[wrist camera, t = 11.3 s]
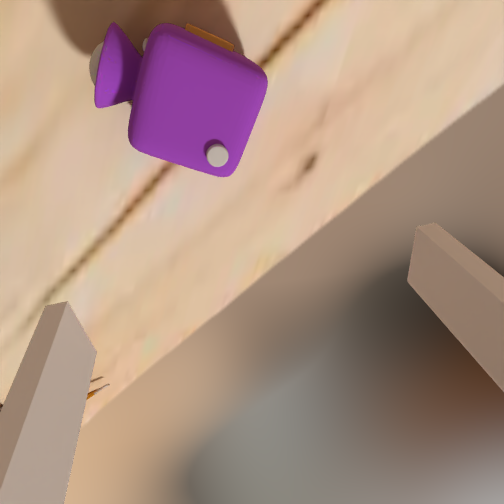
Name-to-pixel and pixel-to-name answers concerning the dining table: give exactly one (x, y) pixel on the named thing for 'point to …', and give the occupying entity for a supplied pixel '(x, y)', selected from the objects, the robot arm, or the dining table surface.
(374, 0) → the dining table surface
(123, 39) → the toy camera
